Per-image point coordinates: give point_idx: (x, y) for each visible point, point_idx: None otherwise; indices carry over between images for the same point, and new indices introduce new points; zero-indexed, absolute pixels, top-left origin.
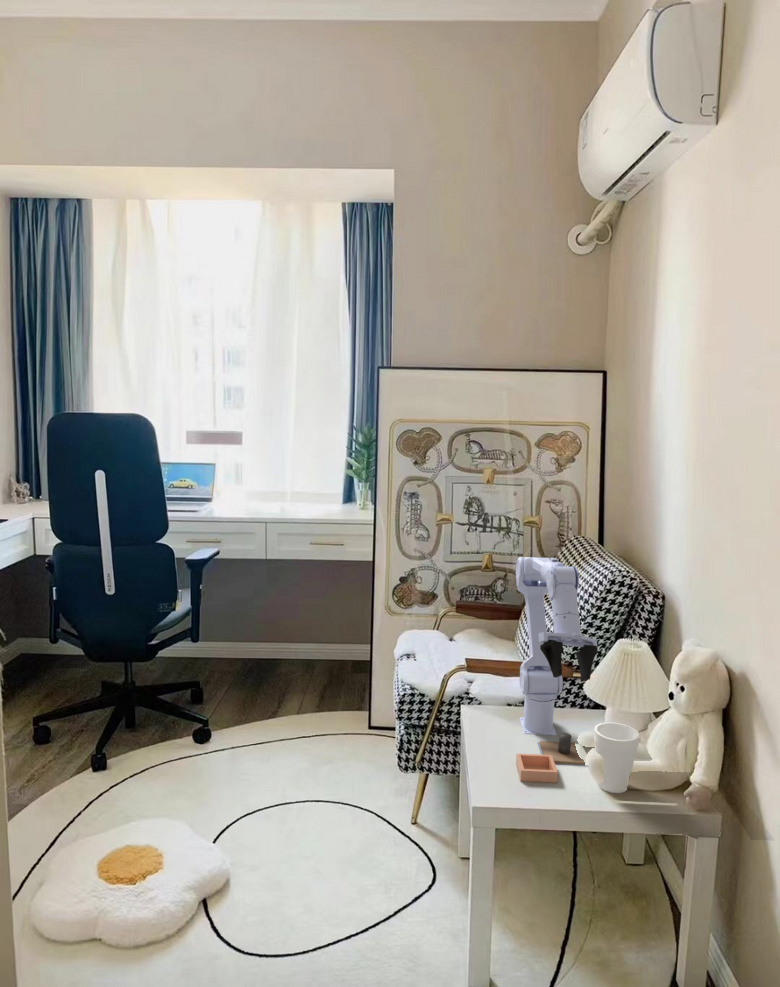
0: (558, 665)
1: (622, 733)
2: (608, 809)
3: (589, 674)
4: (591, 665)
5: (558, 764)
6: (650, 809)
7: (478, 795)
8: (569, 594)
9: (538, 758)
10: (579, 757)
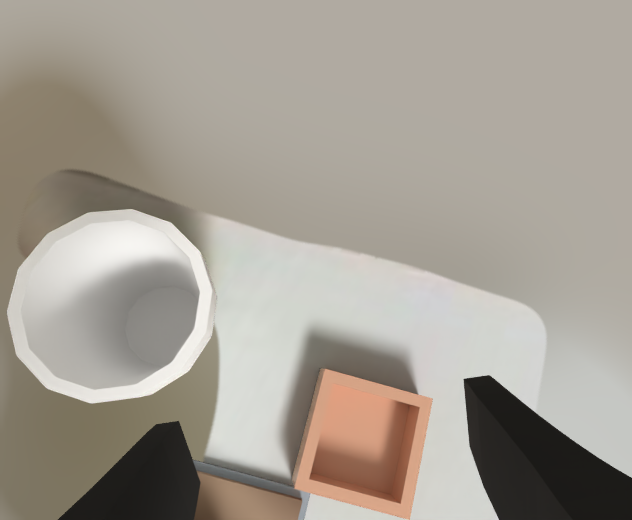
0: (539, 418)
1: (58, 354)
2: (241, 227)
3: (147, 441)
4: (75, 507)
5: (265, 482)
6: (132, 205)
7: (544, 354)
8: None
9: (340, 486)
10: None
